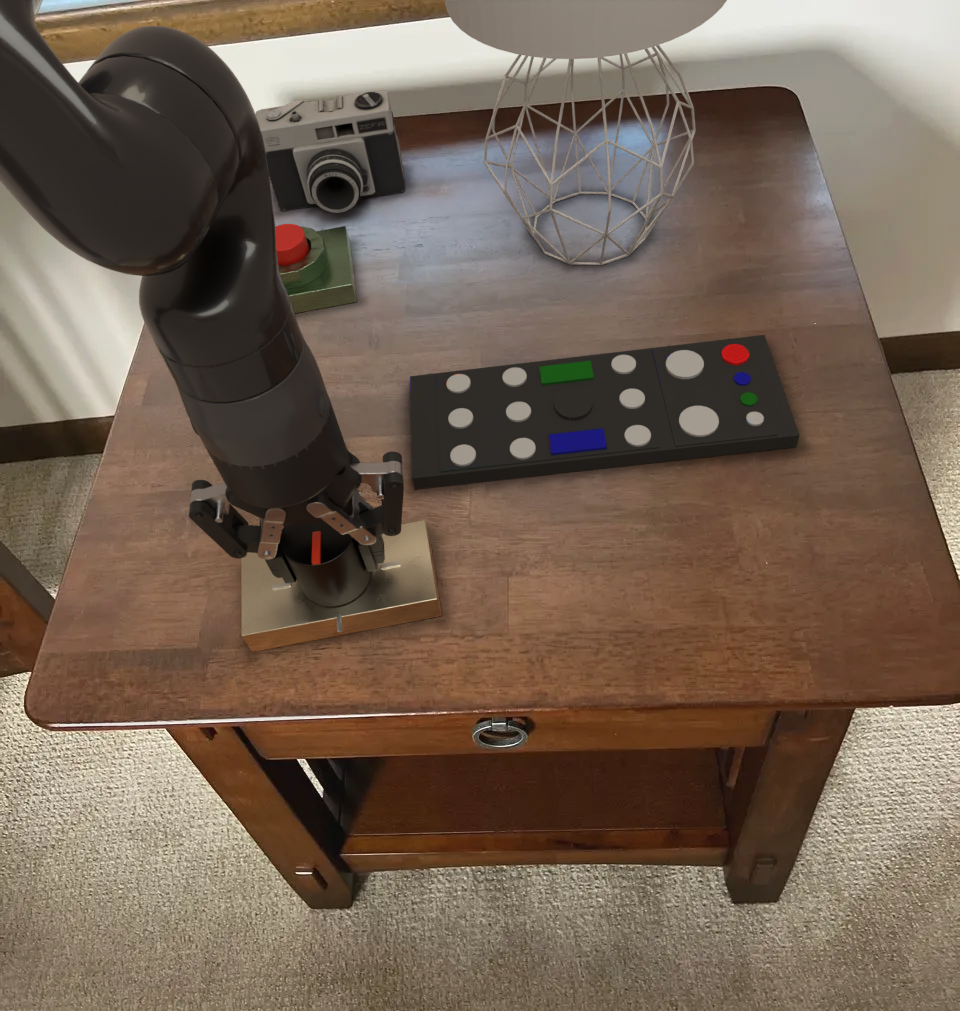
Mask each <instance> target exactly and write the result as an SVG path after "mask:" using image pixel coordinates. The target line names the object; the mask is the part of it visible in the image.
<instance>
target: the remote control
mask: <svg viewBox="0 0 960 1011" xmlns="http://www.w3.org/2000/svg"><path fill="white" fill-rule="evenodd" d="M409 390H410V391H409V395H410V396H409V398H410V400H409V401H410V443H411V444H410V445H411V479H412V484H413V488H414V490H422V489H432V488H433V489H434V488H441V487H449V486H459V485H460V486H461V485H468V484H478V483H486V482H494V481H495V482H496V481H503V480H514V479H522V478H523V479H524V478H532V477H539V476H540V477H541V476H549V475H550V476H551V475H558V474H566V473H567V474H569V473H577V472H585V471H594V470H604V469H612V468H622V467H629V466H630V467H631V466H639V465H640V466H641V465H647V464H657V463H667V462H675V461H676V462H677V461H684V460H693V459H701V458H702V459H704V458H711V457H721V456H729V455H738V454H747V453H756V452H757V453H758V452H764V451H765V452H766V451H775V450H783V449H792V448H793V449H794V448H797V446H798V442H799V438H800V433H799V430H798V427H797V424H796V421H795V418H794V415H793V413H792V410H791V406H790V404H789V401H788V398H787V395H786V392H785V390H784V386H783V384H782V381H781V378H780V374H779V372H778V369H777V366H776V364H775V360H774V358H773V355H772V352H771V349H770V346H769V344H768V340H767V338H766V335H765V334H760V335H752V336H750V335H749V336H742V337H735V338H734V337H733V338H725V339H717V340H709V341H701V342H691V343H683V344H674V345H666V346H658V347H649V348H640V349H632V350H631V349H630V350H623V351H622V350H621V351H615V352H614V351H613V352H606V353H598V354H588V355H581V356H572V357H563V358H555V359H546V360H545V359H544V360H538V361H537V360H536V361H529V362H520V363H511V364H503V365H494V366H486V367H477V368H468V369H461V370H454V371H444V372H435V373H427V374H418V375H411V376H409Z"/></svg>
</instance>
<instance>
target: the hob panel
mask: <svg viewBox="0 0 960 1011" xmlns="http://www.w3.org/2000/svg"><path fill="white" fill-rule="evenodd" d="M430 536H431V535H430V533H429V528H428V525H427V521H426V519H421V520H416V521H411V522H406V523H402V524H401V532H400V534H398V535H396V536H387V535H385V534H382V538H383V541H384V551H385V560H384V563H379V564H378V570H377V571H371V577H370V580H369V583H368V585H367V587H366V588H365V590H364V591H363V592H362V593H361V594H360V595H359V596H358V597H357V598H355V599H354V600H352V601H350V602H348V603H346V604H343V605H339V606H322V605H319V604H316V603H314V602H312V601H311V600H310V599H308V598H307V597H306V595H305V594H304V592H303V590H302V589H301V587H300V585H299V583H298V581H297V579H296V582H294V583H287V584H286V583H285V582H284V580H283V578H277V577H275V576H274V575H273V574H272V572H271V570H270V569H269V567H268V565H267V563H266V561H265V559H261V558H260V557H258V553H250V552H247V555H246V556H245V557H243V558H240V562H241V563H240V572H241V573H240V574H241V575H240V582H241V584H240V586H241V587H240V593H241V594H240V595H241V596H240V598H241V600H240V604H241V606H240V607H241V608H240V609H241V610H240V611H241V612H240V613H241V615H240V616H241V618H240V623H241V624H240V626H241V627H240V628H241V630H240V631H241V632H240V634H241V636H240V637H242V639H243V641H244V642H245V644H246V645H247V646H248V649H249V650H250V651H251V653H255V652H259V651H264V650H265V651H266V650H271V649H275V648H282V647H285V646H292V645H296V644H297V645H298V644H302V643H307V642H313V641H319V640H323V639H328V638H334V637H339V636H345V635H350V634H354V633H360V632H365V631H371V630H376V629H380V628H386V627H390V626H392V627H393V626H397V625H402V624H406V623H412V622H418V621H423V620H428V619H435V618H438V617H442V616H443V614H442V613H443V612H442V607H441V606H442V605H441V601H440V594H439V588H438V580H437V574H436V567H435V561H434V554H433V547H432V542H431V537H430Z"/></svg>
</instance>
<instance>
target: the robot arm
mask: <svg viewBox="0 0 960 1011" xmlns="http://www.w3.org/2000/svg"><path fill="white" fill-rule="evenodd" d="M42 4H43V0H0V183H1V184H2V185H3V187H4V188H5V189H6V190H7V191H8V192H9V193H10V194H11V196H12V197H13V198H14V199H15V200H16V201H17V203H19V205H20V206H21V207H22V208H23V209H24V210H25V211H26V212H27V214H28V215H30V217H32V219H33V220H34V221H35V222H36V223H37V224H38V225H39V226H40V227H41V228H42V229H43V230H44V231H45V232H47V233H48V235H50V237H53V238H54V239H55V240H56V241H57V242H58V243H60V244H61V245H63V246H64V247H65V248H66V249H68V250H70V251H71V252H73V253H74V254H76V255H77V256H79V257H80V258H82V259H85V261H88V262H89V263H93V264H94V265H97V266H99V267H101V268H103V269H107V270H110V271H113V272H117V273H120V274H123V275H130V276H140V277H141V279H140V283H139V288H138V306H139V311H140V315H141V317H142V320H143V322H144V325H145V327H146V330H147V331H148V333H149V335H150V337H151V340H152V341H153V343H154V345H155V346H156V349H157V351H158V353H159V354H160V357H161V359H162V360H163V362H164V364H165V366H166V368H167V369H168V372H169V373H170V375H171V377H172V378H173V380H174V382H175V385H176V387H177V389H178V392H179V396H180V399H181V402H182V405H183V407H184V410H185V412H186V414H187V417H188V418H189V422H190V425H191V427H192V430H193V432H194V433H195V434H196V435H197V436H198V437H199V439H200V440H201V442H202V444H203V446H204V448H205V449H206V451H207V453H208V455H209V457H210V458H211V461H212V462H213V464H214V466H215V467H216V469H217V471H218V473H219V475H220V477H221V478H222V481H223V482H222V483H217V484H215V485H213V484H212V483H211V482H210V481H208V480H205V479H196V480H194V481H192V483H191V489H190V496H189V510H188V517H189V519H190V520H191V521H192V522H193V523H194V524H196V526H198V527H199V528H200V529H201V530H202V531H203V532H204V533H205V534H206V535H207V536H208V537H209V538H210V539H211V540H213V542H214V543H215V544H217V545H218V546H219V548H221V549H222V550H223V551H224V553H226V554H227V555H228V556H229V557H231V558H233V559H241V558H243V557H245V556H246V555H247V553H258V557H260V558H261V559H265V561H266V563H267V565H268V567H269V569H270V570H271V572H272V574H273V575H274V576H275V577H277V578H283V580H284V582H285V583H286V584H287V583H294V582H296V577H295V575H294V573H293V571H292V569H291V567H290V565H289V563H288V561H287V559H286V557H285V555H284V553H283V551H282V548H281V545H280V538H281V533H282V529H283V527H284V528H288V527H295V526H298V525H302V524H305V523H322V522H326V523H327V524H328V525H330V526H331V527H332V528H334V529H335V530H336V531H337V532H339V533H340V534H341V535H344V534H347V533H348V534H349V535H350V536H351V537H353V538H354V539H355V540H356V541H358V548H359V551H360V553H361V556H362V558H363V561H364V563H365V566H366V569H367V571H368V572H370V571H377V570H378V564H379V563H384V560H385V551H384V541H383V538H382V534H385V535H387V536H396V535H398V534H400V532H401V524H403V523H402V522H403V520H402V519H403V507H404V493H405V492H404V491H405V485H404V483H405V482H404V470H403V456H402V454H401V453H400V452H398V451H387V452H386V453H384V454H383V456H382V461H381V462H379V461H378V462H377V461H376V462H375V461H374V462H361V461H360V458H358V457H357V455H355V454H353V453H352V452H350V450H349V449H348V448H347V445H346V442H345V439H344V436H343V433H342V431H341V428H340V425H339V422H338V419H337V416H336V413H335V410H334V407H333V405H332V402H331V399H330V396H329V393H328V390H327V388H326V384H325V383H324V379H323V376H322V373H321V370H320V367H319V365H318V362H317V360H316V358H315V356H314V353H313V352H312V350H311V348H310V346H309V345H308V343H307V341H306V339H305V338H304V336H303V334H302V331H301V329H300V326H299V322H298V319H297V316H296V313H294V311H293V308H292V305H291V302H290V300H289V297H288V294H287V291H286V289H285V286H284V283H283V281H282V279H281V276H280V274H279V269H278V261H277V251H276V228H275V227H276V220H275V210H274V205H273V196H272V188H271V187H272V186H271V180H270V177H269V171H268V164H267V158H266V152H265V146H264V142H263V137H262V133H261V130H260V127H259V123H258V120H257V117H256V111H255V109H254V107H253V104H252V102H251V100H250V99H249V95H248V94H247V92H246V90H245V88H244V87H243V85H242V83H241V82H240V81H239V79H238V77H237V76H236V74H235V73H234V72H233V70H232V69H231V68H230V67H229V65H228V64H227V63H226V62H225V61H224V60H223V59H222V58H221V57H220V56H219V55H218V54H217V53H216V52H215V51H214V50H213V49H212V48H211V47H209V46H208V45H207V44H205V43H204V42H203V41H201V40H199V39H198V38H196V37H195V36H193V35H191V34H189V33H186V32H184V31H183V30H180V29H177V28H173V27H170V26H165V25H149V26H148V25H145V26H140V27H136V28H133V29H130V30H128V31H126V32H124V33H122V34H121V35H120V36H118V37H117V38H115V39H114V40H112V41H111V42H110V43H109V44H108V45H107V46H106V47H105V48H104V49H103V50H102V51H101V53H100V54H98V56H97V58H95V60H94V61H93V62H92V64H91V65H90V66H89V68H88V69H87V70H86V72H85V73H84V74H83V76H82V77H81V78H80V79H79V81H77V79H76V78H75V77H74V76H73V75H72V74H71V72H70V70H68V68H66V66H65V64H64V63H62V61H61V59H60V58H59V56H57V55H56V54H57V53H55V51H54V50H53V48H52V47H51V46H50V45H49V43H48V42H47V40H45V38H44V36H43V35H42V33H41V32H40V31H39V29H38V27H37V24H36V19H37V16H38V15H39V11H40V9H41V7H42ZM362 484H366V485H368V486H369V487H370V490H371V491H372V492H373V493H374V494H376V498H377V499H378V500H381V501H380V502H381V505H378V506H376V507H373V505H370V503H369V502H367V501H366V500H365V499H364V498H363V497H362V496H361V495H360V493H359V492H360V491H359V490H358V489H359V488H360V486H361V485H362ZM237 508H238V509H240V510H242V511H244V512H246V513H249V514H251V515H252V516H255V517H256V518H259V521H258V525H254V524H250V523H249V522H248V520H247V519H246V518H244V517H243V515H242V514H241V513H240V512H239V511H238V510H237Z"/></svg>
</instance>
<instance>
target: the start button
mask: <svg viewBox="0 0 960 1011" xmlns="http://www.w3.org/2000/svg"><path fill="white" fill-rule="evenodd" d="M301 227H302V226H299V225H298V224H296V223H295V224H294V223H282V224H278V225H275V228H276V251H277V261H278V265H279V266H284V265H290V264H295V263H297V262H299V261H300V260H302V259H304V258H305V257H306V256H307V254H308V252H309V246H308V242H307V239H306V236H305V233H304V230H303V229H302V228H301Z"/></svg>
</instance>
